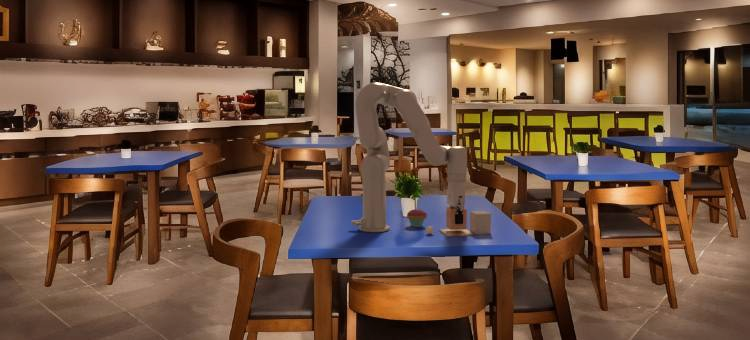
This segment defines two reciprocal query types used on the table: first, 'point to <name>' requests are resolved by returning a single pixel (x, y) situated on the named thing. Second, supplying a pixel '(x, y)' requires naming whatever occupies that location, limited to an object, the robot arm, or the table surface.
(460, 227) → the peach colored cube
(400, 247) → the table surface
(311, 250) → the table surface
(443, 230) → the birch board
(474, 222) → the beige block
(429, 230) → the cream marble
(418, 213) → the cupcake
